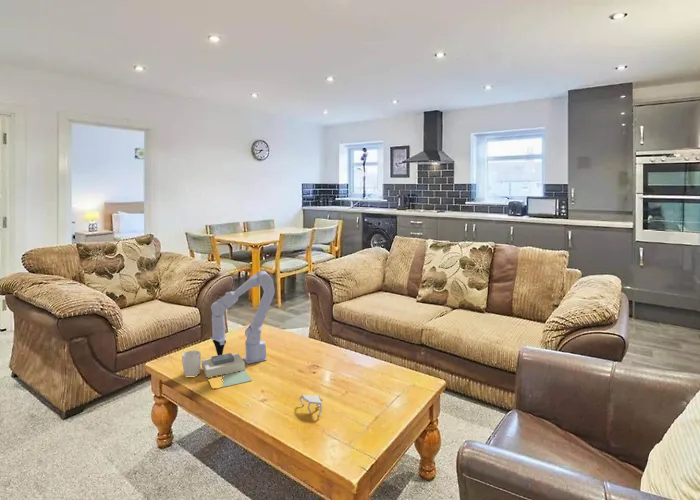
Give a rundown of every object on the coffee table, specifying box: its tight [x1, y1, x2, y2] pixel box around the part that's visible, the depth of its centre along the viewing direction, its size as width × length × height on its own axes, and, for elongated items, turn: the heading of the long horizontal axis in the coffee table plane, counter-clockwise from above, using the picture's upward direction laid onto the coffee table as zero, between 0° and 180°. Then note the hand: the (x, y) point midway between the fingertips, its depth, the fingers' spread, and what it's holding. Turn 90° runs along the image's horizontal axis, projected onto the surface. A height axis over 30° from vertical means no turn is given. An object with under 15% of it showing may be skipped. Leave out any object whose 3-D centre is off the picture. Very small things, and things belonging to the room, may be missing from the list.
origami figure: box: [299, 394, 324, 417], centre depth 160 cm, size 12×8×5 cm
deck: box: [201, 352, 246, 378], centre depth 194 cm, size 17×12×4 cm
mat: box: [221, 370, 253, 388], centre depth 184 cm, size 17×11×1 cm, turn 119°
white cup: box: [181, 350, 202, 377], centre depth 188 cm, size 8×8×10 cm
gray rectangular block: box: [210, 352, 234, 366], centre depth 194 cm, size 9×6×2 cm, turn 119°
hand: (219, 354), depth 199 cm, fingers closed
